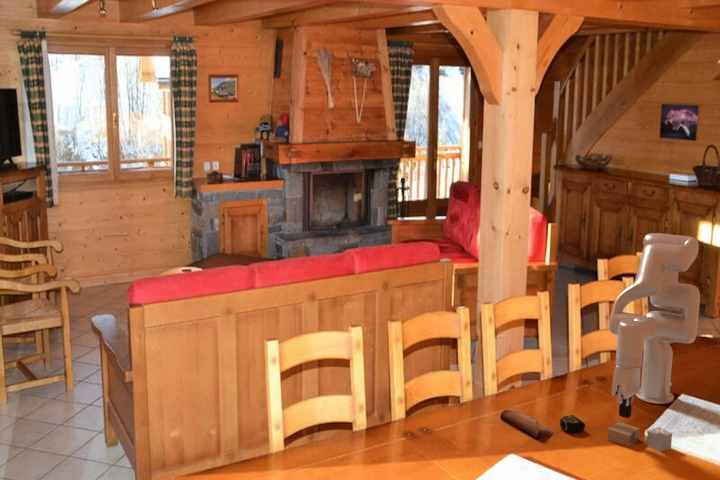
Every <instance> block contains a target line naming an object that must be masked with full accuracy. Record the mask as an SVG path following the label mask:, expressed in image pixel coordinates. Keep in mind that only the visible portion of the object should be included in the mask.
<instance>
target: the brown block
mask: <svg viewBox="0 0 720 480" xmlns="http://www.w3.org/2000/svg"><path fill="white" fill-rule="evenodd" d="M640 431H641V430H640V428H639V427H636V426H633V425H630V424H627V423H623V422H621V421H618V422H616V423H615V424H613V425H612V426H610V427H609V428H608V429H607V441H610V442H613V443H615V444H618V445H620V446H625V447H627V448H629V447H631V446H633V445H634V444H635V443H636V442H638V441H639V440H640Z"/></svg>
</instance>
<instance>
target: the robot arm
mask: <svg viewBox="0 0 720 480" xmlns="http://www.w3.org/2000/svg"><path fill="white" fill-rule="evenodd" d="M642 242H643V249H642V252H641V256H640V260H639V264H638V266H637V270H636V271H637V272H636V274H635V278H634V282H633V283H632V284H631V285H630V286H629V285H628V287H626V288H625V289H623V290H622V291H621V292H620V293H619V294H618V296H617V297H616V298H615V299H614V302H613V305H612V309H611V312H610V316H609V320H608V329H609V331H610V332H611V334H613V335H615V336H617V340H616V341H617V342H616V352H615V353H616V354H615V368H614V372H613V378H612V385H611V386H612V387H611V396H612V397H615V396H616V403H618V405H619V410H618V416H620V417H623V418H626V419H629V418H630V417H632V407H633V401H634V396H636V397H637V398H638V399H639V400H641V401H644V402H646V403H650V404H655V405H666V404H670V403H672V402H673V401H674V400H675V395H674V394H673V393H672V392H671V390H670V389H671V386H672V385H673V382H672V381H671V379H672V377H671V376H672V365H673V355H674V353H673V349H672V346H671V345H670V343H669V342H668V341H670V342H676V343H682V344H692V343H693V342H694V341H695V340H696V338H697V334H698V325H699V315H700V305H701V304H700V303H701V295H700V289H699V288H698V287H697V286H696V285H693V284H691V283H690V284H689V283H683V282H679V272H680V273H683V272H686V271H688V269H690V267H691V266H692V264H693V263H694V262H695V260H696V258H697V257H698V254H699V249H700V248H699V247H700V245H699V242H698V239H696V238H695V237H692V236H689V235H680V234H671V233H660V232H653V233H652V232H651V233H647V234H646V235H645V236H644V238H643V241H642ZM648 297H649V301H650V304H651V305H652V306H653V307H655V308H660V309H664V310H665V309H666V310H671V311H678V312H682V314H680V313H673V312H668V311H662V310H661V311H660V310H652V311H647V312H646V313H645V315H643V314H642V315H641V314H636V313H633V312H632V313H631V312H625V311H624V310H625V308H626V306H628V305H629V304H631V303H632V302H634V301H637V300H640V299H644V298H648ZM641 368H642V369H641ZM641 370H642V371H641Z"/></svg>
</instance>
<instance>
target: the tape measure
mask: <svg viewBox="0 0 720 480" xmlns="http://www.w3.org/2000/svg"><path fill="white" fill-rule="evenodd" d="M559 426H560V428H561V429H562V430H563V431H566V432H569V433H577V432H580V431H583V430H585V428H586V424H585V422H584V421H582V420H581V419H579V418H578V417H577V416H575V415H574V414H570V415H563V416H562V417H560V419H559Z"/></svg>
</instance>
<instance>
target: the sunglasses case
mask: <svg viewBox="0 0 720 480" xmlns="http://www.w3.org/2000/svg"><path fill="white" fill-rule="evenodd" d="M499 418H500V420H502V421H504V422H507V423H509V424H512V425H513V426H515V427H517V428H518V429H521V430H522V431H524V432H526V433H527V434H529V435H531V436H533V437H534V438H536V439H537V440H538V441H539V440H542V439H543V440H544V439H545V438H548V436H549V437H552V436H554V435H555V432H553V430H551V429H550V428H548V427H547V426H545V425H544V424H542V423H541V422H539V421H537V419H535V418H534V417H532V416H531V415H527V414H525V413H523V412H519V411H515V410H509V409H504V410H502V411H501V413H500V416H499Z"/></svg>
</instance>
